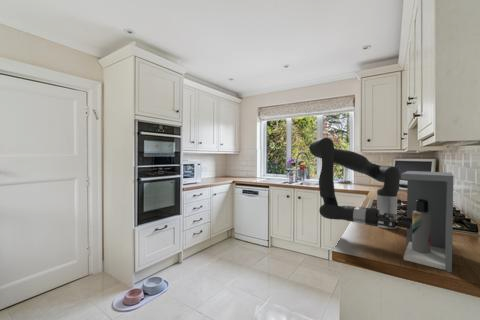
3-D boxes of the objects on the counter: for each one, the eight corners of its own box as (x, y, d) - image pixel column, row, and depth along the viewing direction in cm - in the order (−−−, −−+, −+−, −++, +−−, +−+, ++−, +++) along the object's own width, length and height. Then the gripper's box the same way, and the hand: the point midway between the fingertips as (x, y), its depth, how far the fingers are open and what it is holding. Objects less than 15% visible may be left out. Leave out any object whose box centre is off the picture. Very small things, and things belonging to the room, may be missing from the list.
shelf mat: (409, 245, 98) (409, 241, 98) (444, 252, 91) (444, 248, 91) (403, 259, 84) (403, 255, 84) (445, 270, 76) (445, 265, 76)
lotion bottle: (430, 250, 89) (431, 199, 89) (431, 255, 85) (432, 201, 84) (412, 246, 93) (412, 197, 92) (412, 251, 88) (412, 199, 88)
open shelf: (406, 242, 101) (408, 171, 100) (449, 251, 92) (451, 172, 91) (400, 259, 84) (401, 173, 84) (451, 272, 75) (453, 175, 74)
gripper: (362, 210, 96) (409, 217, 85) (370, 205, 107) (413, 210, 96) (361, 228, 96) (409, 237, 85) (369, 221, 107) (413, 228, 96)
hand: (411, 223), depth 91 cm, fingers open, 8 cm apart
